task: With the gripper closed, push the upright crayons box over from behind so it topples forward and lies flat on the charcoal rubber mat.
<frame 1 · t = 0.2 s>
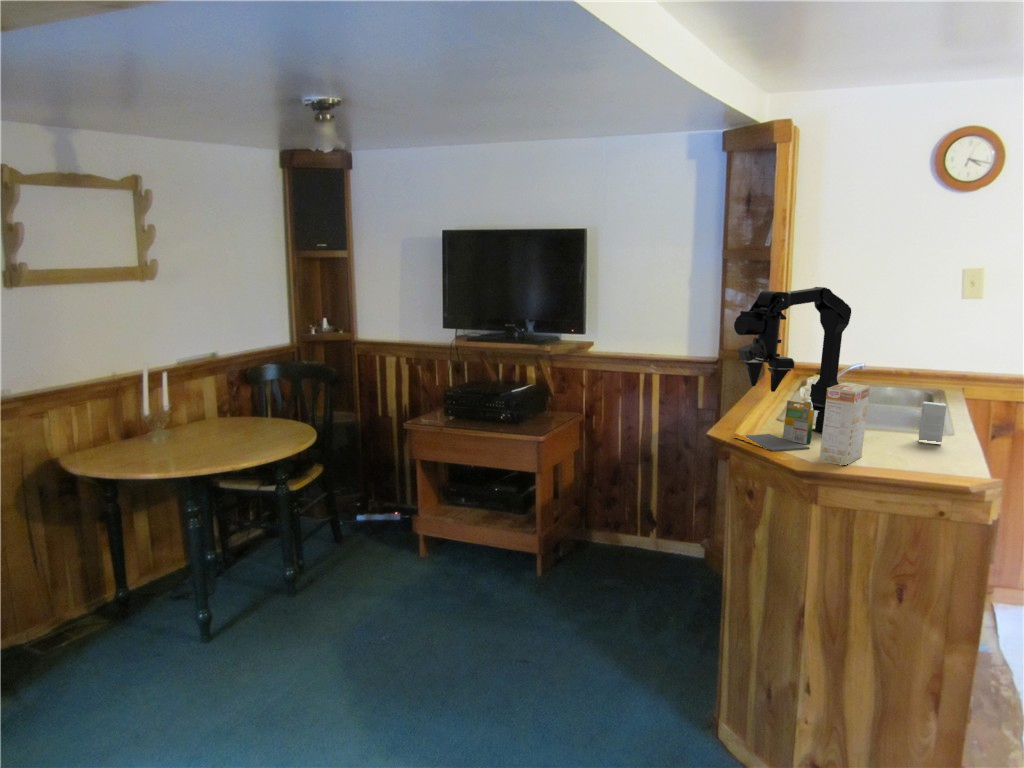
hand: (762, 388, 223), 14 cm above the countertop, tool pointing down, fingers open, 9 cm apart
mat: (770, 443, 218), on the countertop
skincare box: (929, 443, 229), on the countertop
crayon box: (796, 442, 221), on the countertop
coffeecake box: (840, 459, 203), on the countertop
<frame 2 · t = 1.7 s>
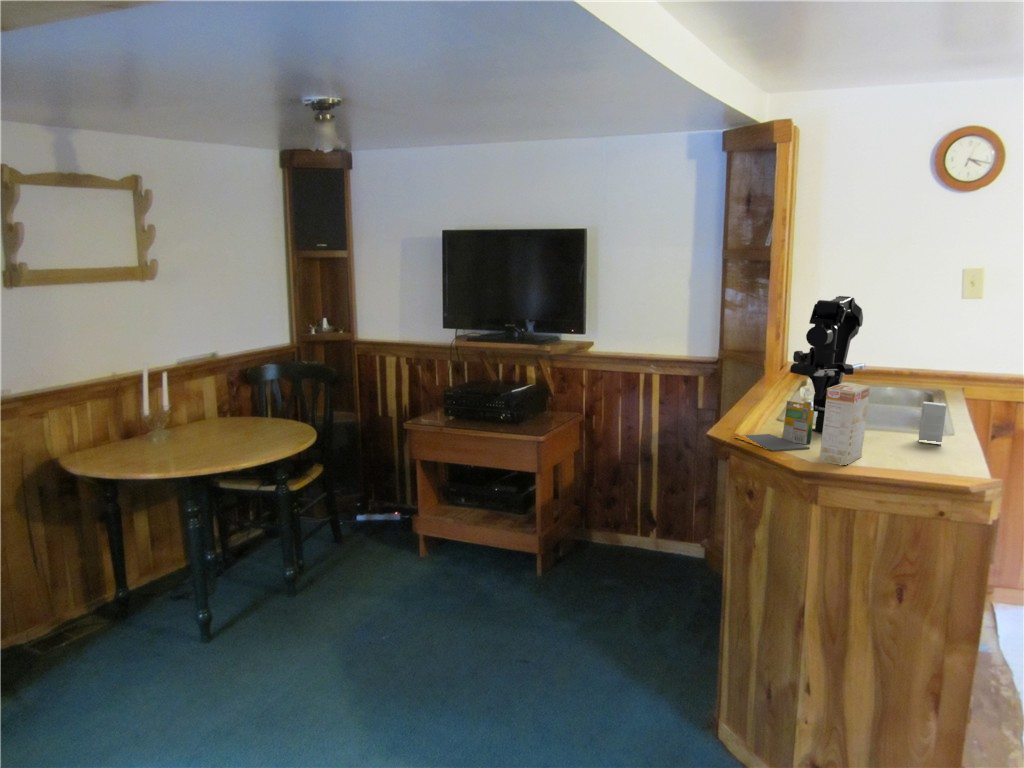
hand: (818, 398, 222), 12 cm above the countertop, tool pointing down, fingers closed
nothing on the countertop moved.
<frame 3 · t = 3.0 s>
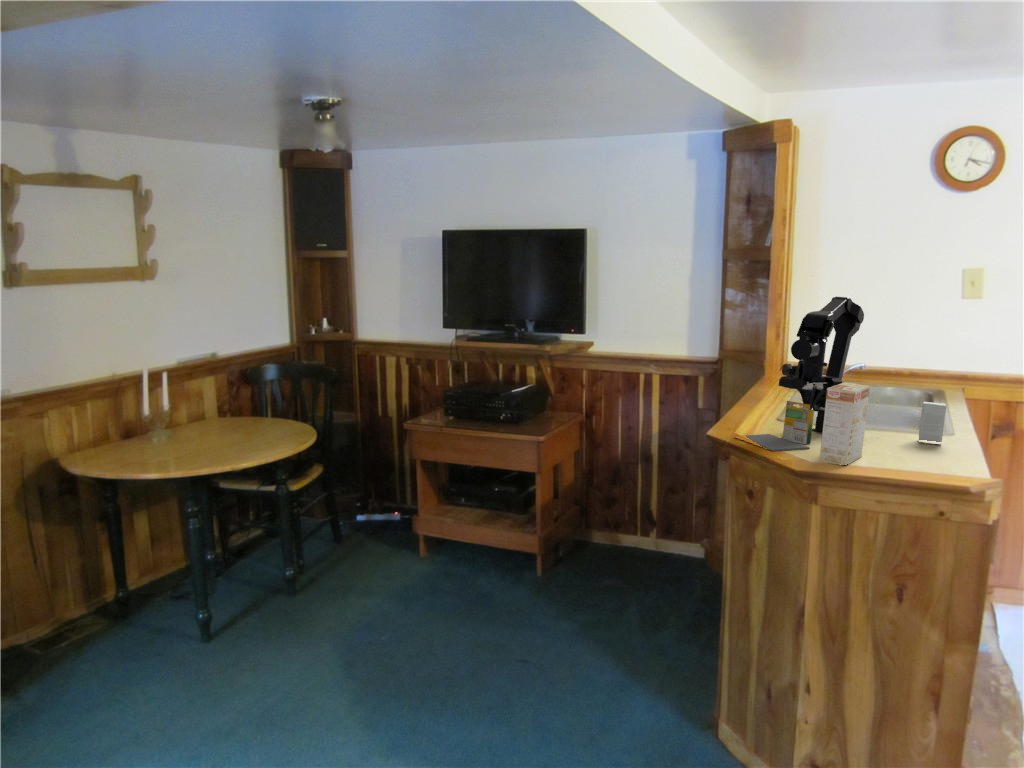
hand: (807, 411, 221), 9 cm above the countertop, tool pointing down, fingers closed
crayon box: (796, 442, 221), on the countertop, touching gripper
everything else where it was.
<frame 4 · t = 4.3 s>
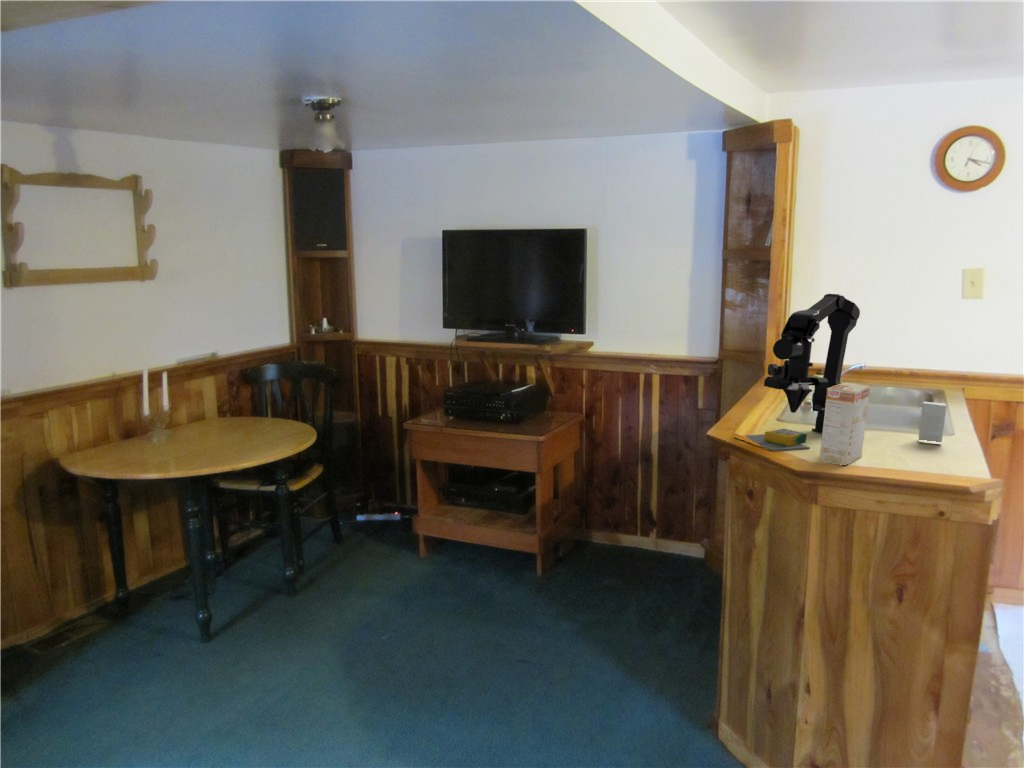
hand: (793, 412, 219), 9 cm above the countertop, tool pointing down, fingers closed
crayon box: (795, 435, 220), point 2 cm above the countertop, touching mat
everything else where it was.
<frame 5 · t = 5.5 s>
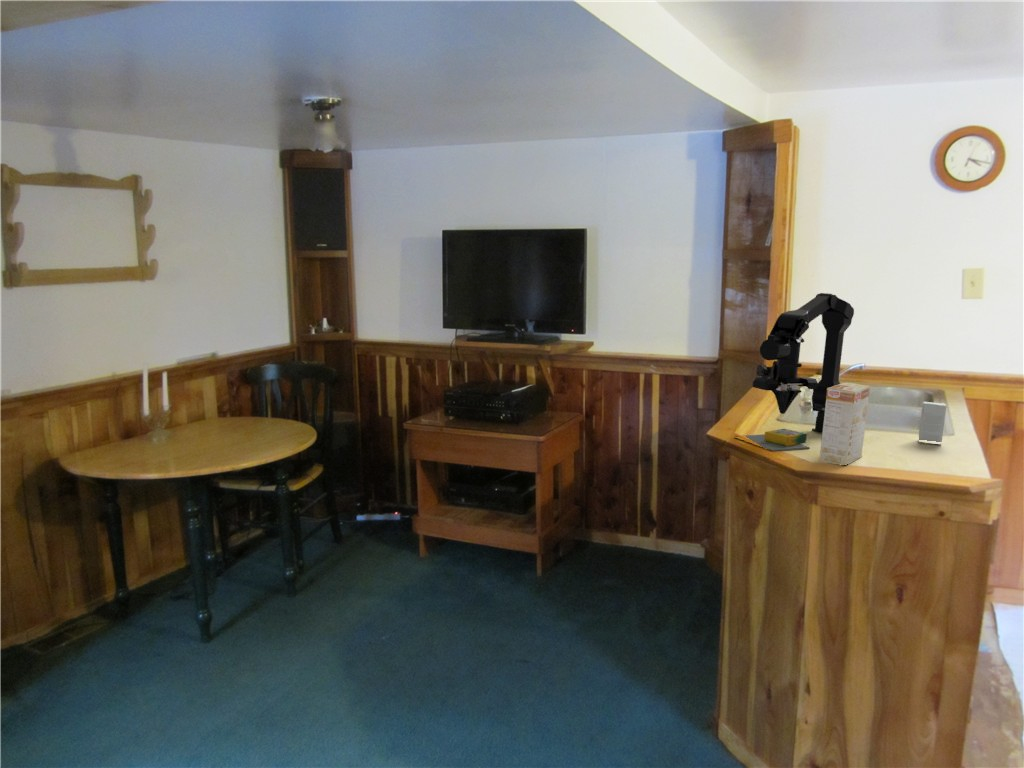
hand: (782, 413, 217), 8 cm above the countertop, tool pointing down, fingers closed
nothing on the countertop moved.
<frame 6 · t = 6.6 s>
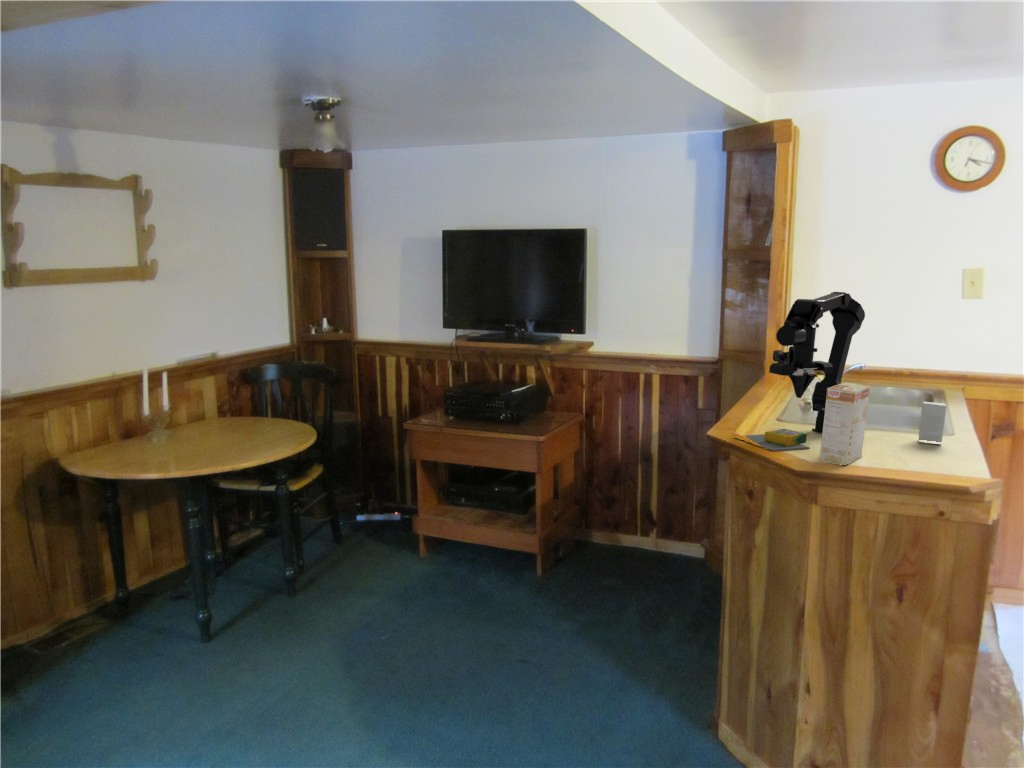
hand: (798, 397, 222), 12 cm above the countertop, tool pointing down, fingers closed
nothing on the countertop moved.
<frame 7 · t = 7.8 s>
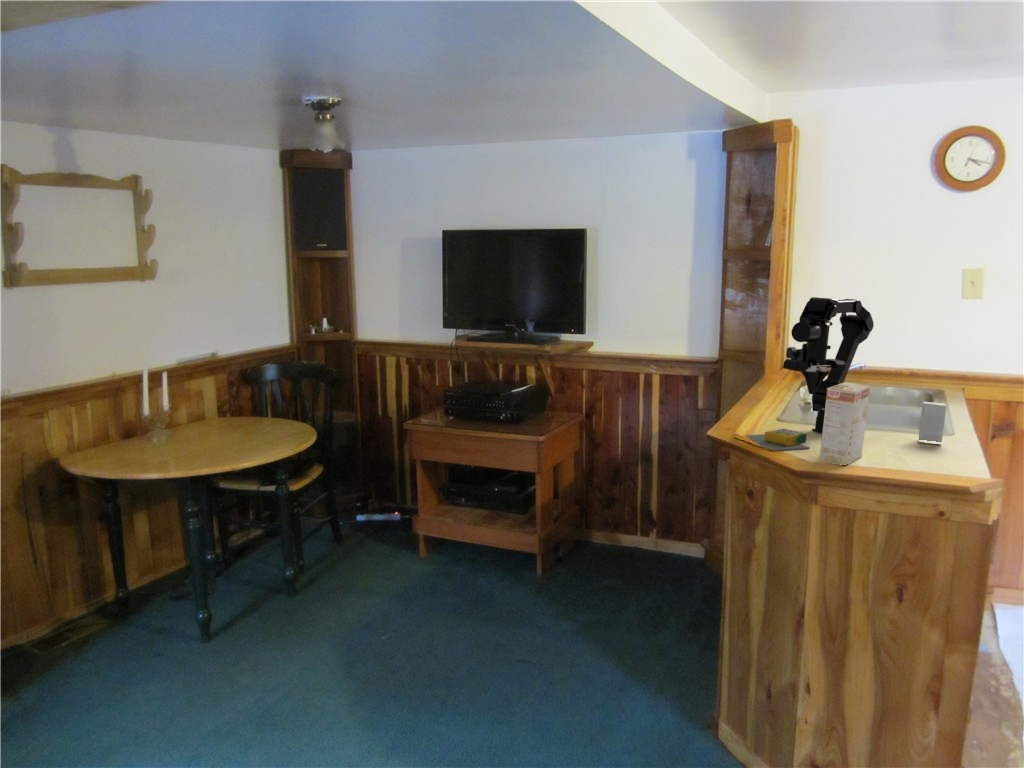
hand: (811, 394, 226), 13 cm above the countertop, tool pointing down, fingers closed
nothing on the countertop moved.
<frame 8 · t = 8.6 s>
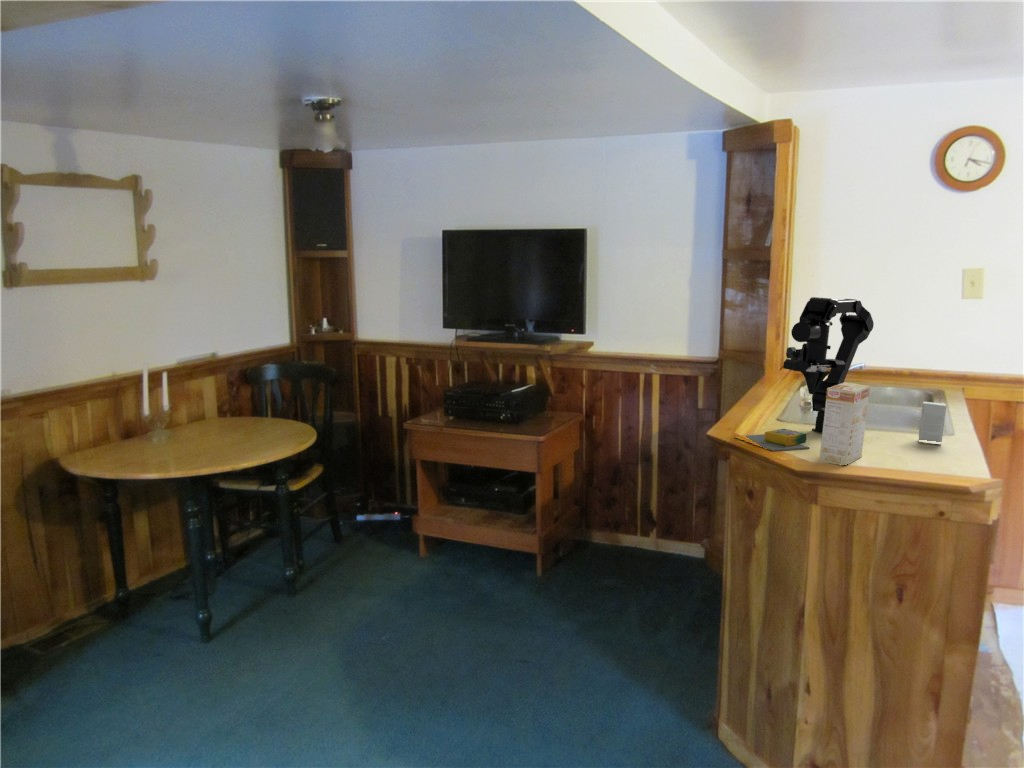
hand: (811, 394, 226), 13 cm above the countertop, tool pointing down, fingers closed
nothing on the countertop moved.
at the end: crayon box tilted 90°; crayon box touching mat; crayon box inside the target area (3.4 cm from its centre), point 2.0 cm above the countertop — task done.
